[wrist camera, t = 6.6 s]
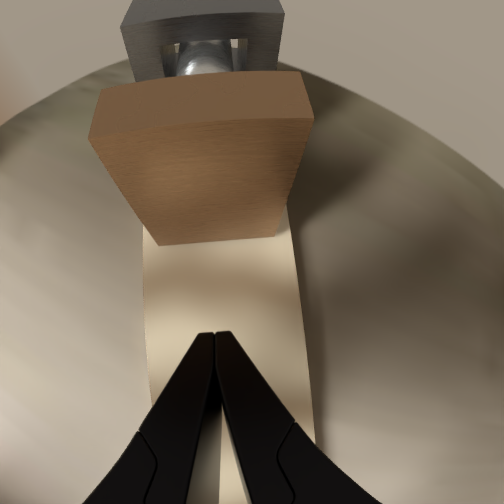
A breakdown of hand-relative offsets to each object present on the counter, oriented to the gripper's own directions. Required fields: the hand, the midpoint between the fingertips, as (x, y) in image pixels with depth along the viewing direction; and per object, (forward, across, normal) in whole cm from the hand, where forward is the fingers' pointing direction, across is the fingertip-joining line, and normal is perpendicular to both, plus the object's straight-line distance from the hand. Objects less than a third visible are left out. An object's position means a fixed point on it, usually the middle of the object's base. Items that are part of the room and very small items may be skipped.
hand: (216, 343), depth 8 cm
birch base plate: (+8, 0, +4) cm, 9 cm away
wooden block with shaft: (+13, 0, -3) cm, 13 cm away
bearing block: (+16, 0, -5) cm, 16 cm away
